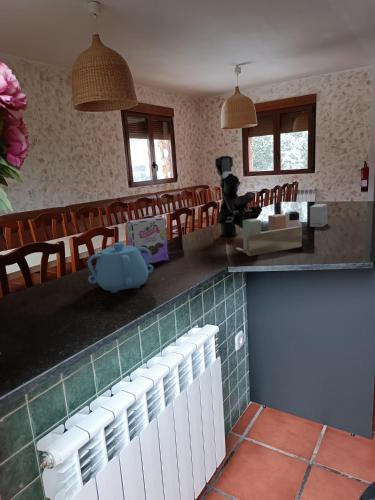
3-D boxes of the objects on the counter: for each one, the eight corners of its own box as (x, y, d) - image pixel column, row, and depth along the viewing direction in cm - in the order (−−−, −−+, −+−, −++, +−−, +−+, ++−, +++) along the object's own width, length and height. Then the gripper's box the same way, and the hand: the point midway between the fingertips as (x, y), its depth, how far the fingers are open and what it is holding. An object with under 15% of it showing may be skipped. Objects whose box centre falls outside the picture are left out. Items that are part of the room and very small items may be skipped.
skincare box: (315, 223, 187) (315, 203, 185) (327, 223, 184) (328, 203, 181) (309, 226, 179) (309, 206, 177) (322, 227, 175) (322, 206, 173)
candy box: (135, 266, 128) (130, 222, 124) (130, 263, 133) (125, 220, 129) (169, 260, 134) (166, 217, 130) (163, 257, 139) (159, 216, 135)
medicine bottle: (298, 236, 157) (298, 210, 155) (302, 240, 151) (302, 212, 148) (282, 237, 158) (282, 211, 155) (285, 241, 151) (284, 213, 148)
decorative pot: (127, 299, 97) (122, 251, 93) (84, 292, 104) (78, 248, 101) (159, 280, 111) (155, 238, 107) (119, 275, 118) (115, 236, 115)
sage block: (243, 250, 140) (242, 220, 137) (254, 248, 142) (253, 218, 139) (250, 252, 135) (249, 221, 133) (261, 250, 137) (260, 220, 134)
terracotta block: (268, 243, 148) (268, 215, 145) (278, 242, 149) (278, 214, 147) (275, 245, 143) (275, 216, 140) (285, 244, 145) (285, 215, 142)
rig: (233, 249, 142) (233, 230, 140) (282, 241, 151) (282, 223, 149) (250, 256, 131) (249, 235, 129) (301, 246, 140) (301, 226, 138)
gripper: (218, 189, 137) (233, 220, 129) (259, 185, 144) (275, 215, 136) (211, 208, 146) (224, 238, 138) (249, 203, 152) (264, 232, 145)
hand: (247, 230), depth 139 cm, fingers closed, pressing on sage block
